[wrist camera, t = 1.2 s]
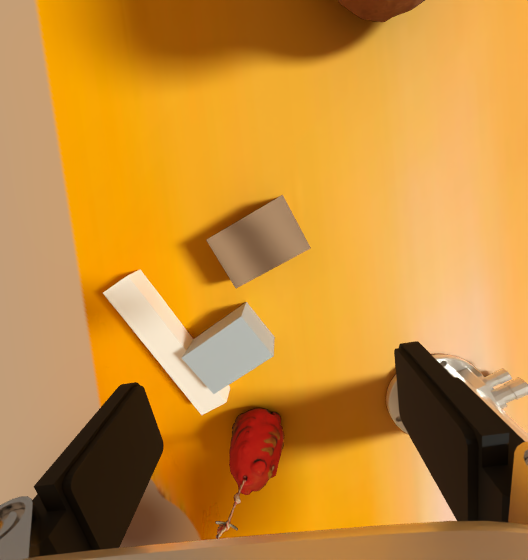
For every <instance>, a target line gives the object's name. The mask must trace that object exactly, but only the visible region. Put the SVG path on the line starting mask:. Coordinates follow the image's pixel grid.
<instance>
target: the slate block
mask: <svg viewBox="0 0 528 560" xmlns="http://www.w3.org/2000/svg"><path fill="white" fill-rule="evenodd" d="M273 356H274V336H273V334H272V333H271V332H270V331H269V329H268V328H267V327H266V326H265V324H264V323H263V322H262V321H261V319H260V318H259V317H258V316H257V314H256V313H255V312H254V311H253V309H252V308H251V307H250V306H249V304H248V303H247V302H245V303H244V304H243V305H241V306H240V307H238V308H237V309H236V310H234V311H233V312H231V313H230V314H228V315H227V316H226V317H224V318H223V319H221V320H220V321H219V322H217V323H216V324H214V325H213V326H211V327H210V328H209V329H207V330H206V331H204V332H203V333H202V334H200V335H199V336H197V337H196V338H194V339H193V341H192V342H191V344H190V346H189V347H188V349H187V350H186V352H185V353H184V355H183V356H182V359H183V360H184V362H185V363H186V364H187V365H188V366H189V367H190V368H191V369H192V371H193V372H194V373H195V374H196V375H197V376H198V377H199V378H200V379H201V381H202V382H203V383H204V384H205V385H206V386H207V387H208V388H209V390H210V391H211V392H212V393H213V394H215V393H217V392H218V391H220V390H221V389H223V388H224V387H226V386H228V385H229V384H231V383H232V382H234V381H235V380H237V379H238V378H240V377H242V376H243V375H245V374H246V373H248V372H249V371H251V370H252V369H254V368H256V367H257V366H259V365H260V364H262V363H263V362H265V361H267V360H268V359H270V358H271V357H273Z"/></svg>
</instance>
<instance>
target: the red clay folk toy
mask: <svg viewBox="0 0 528 560" xmlns="http://www.w3.org/2000/svg"><path fill="white" fill-rule="evenodd" d="M232 429H233V431H232V439H231V447H230V453H229V454H230V464H229V465H230V471H231V474H232V475H233V477H234V479H235V480H236V482H237V484H238V488H239V491H238V493H236V494H235V495H234V501H235V502H234V505H233V509H232V511H231V514H230V516H229V519H228V521H226V522H220V521H215V522H216V524H220V526H219V527H218V529H217V530H218V531H217V533H218V535H217V536H216V538H217V539H218V538H219V537H220V536H221V535H222V533H223V532H224V531H227V530H228V529H229V528H230V526H231V527H232V528H234V529H235V530H238V528H237V527H236V526H234V525H232V524H230V520H231V517H232V514H233V510H234V508H235V506H236V504H240V502H241V500H240V497H239V494H240V493H242V494H245V495H249V494H250V493H251V492H252V491H259V490H261V489H262V488H263V487H264V486H265V485H266V483H267V481H268V480H269V479H270V478H272V477H274V476H276V472H277V468H278V463H279V459H280V456H281V451H282V449H283V446H284V442H283V440H284V432H283V431H282V426H281V417H280V415H279V414H278V413H277V412H272V413H270V412H269V411H268V410H267V409H262V408H258V409H252V410H249V411H248V412H246V413H243V414H240V415H239V416H238V417H237V419H236V420H235V423H234V424H233V427H232ZM221 524H223V525H221Z"/></svg>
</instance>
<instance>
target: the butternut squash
mask: <svg viewBox="0 0 528 560" xmlns="http://www.w3.org/2000/svg"><path fill="white" fill-rule="evenodd" d="M423 1H425V0H338V2H339V3H340V4H341V5H343V6H344V7H345V8H347V9H348V10H349V11H351V12H352V13H354V14H355V15H357V16H358V17H359V18H361V19H365V20H371V21H376V22H385V21H387V20H388V19H390V18H392V17H394V16H396V15H399V14H402V13H405V12H407V11H410V10H412V9H413V8H415V7H416V6H418V5H419V4H421V3H422V2H423Z"/></svg>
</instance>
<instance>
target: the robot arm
mask: <svg viewBox="0 0 528 560" xmlns="http://www.w3.org/2000/svg"><path fill="white" fill-rule="evenodd" d="M394 354H395V366H396V375H395V376H394V378H393V379H392V381H391V382H390V384H389V387H388V389H387V395H386V405H387V408H388V412H389V414H390V416H391V418H392V420H393V421H394V422H395V424H396V425H397V426H398V427H399V428H400V429H401V430H402V431H404V432H405V433H407V434H409V436H410V438H411V439H412V441H413V443H414V445H415V446H416V448H417V450H418V452H419V454H420V455H421V457H422V459H423V461H424V463H425V464H426V466H427V468H428V470H429V471H430V473H431V475H432V477H433V479H434V480H435V482H436V484H437V486H438V487H439V489H440V491H441V493H442V495H443V496H444V498H445V500H446V502H447V503H448V505H449V507H450V509H451V511H452V512H453V514H454V516H455V518H456V520H457V521H444V522H427V523H411V524H394V525H379V526H366V527H354V528H341V529H329V530H317V531H304V532H292V533H280V534H268V535H256V536H245V537H233V538H222V539H210V540H199V541H189V542H176V543H166V544H156V545H145V546H135V547H123V548H119V547H120V544H121V542H122V540H123V538H124V536H125V533H126V531H127V529H128V527H129V525H130V522H131V520H132V518H133V516H134V514H135V511H136V509H137V507H138V505H139V503H140V500H141V498H142V496H143V494H144V492H145V489H146V487H147V485H148V483H149V481H150V478H151V476H152V474H153V472H154V470H155V467H156V465H157V463H158V461H159V459H160V457H161V454H162V452H163V440H162V437H161V434H160V431H159V429H158V426H157V423H156V420H155V417H154V415H153V412H152V409H151V406H150V403H149V401H148V398H147V395H146V392H145V389H144V387H143V386H140V385H139V384H138V383H136V382H135V383H128V384H122V385H120V386H119V387H118V388H117V389H116V390H115V392H114V393H113V394H112V395H111V396H110V397H109V399H108V400H107V401H106V402H105V403H104V404H103V406H102V407H101V408H100V409H99V410H98V412H97V413H96V414H95V415H94V416H93V417H92V419H91V420H90V421H89V422H88V423H87V424H86V426H85V427H84V428H83V429H82V430H81V431H80V433H79V434H78V435H77V436H76V437H75V439H74V440H73V441H72V442H71V443H70V445H69V446H68V447H67V448H66V449H65V450H64V452H63V453H62V454H61V455H60V456H59V457H58V459H57V460H56V461H55V462H54V463H53V464H52V466H51V467H50V468H49V469H48V470H47V471H46V473H45V474H44V475H43V476H42V477H41V479H40V480H39V481H38V482H37V483H36V485H35V486H34V488H35V490H36V492H37V493H38V494H37V495H36V497H35V498H34V499H33V500H32V499H31V498H29V497H28V496H27V497H18V498H15V499H12V500H10V501H8V502H6V503H4V504H2V505H0V560H528V433H527V432H526V431H525V430H524V429H523V428H522V427H521V426H520V425H518V424H517V423H516V422H515V421H514V420H513V419H512V418H511V417H510V416H509V415H508V414H507V413H506V412H505V411H503V410H502V409H504V408H506V407H507V405H506V403H507V402H510V401H512V400H514V399H519V398H522V397H524V396H526V395H528V384H527V383H526V382H525V381H524V380H522V379H521V378H516V379H514V380H512V381H509V380H511V379H512V378H511V376H510V374H509V373H508V372H507V371H506V370H505V369H503V368H502V369H500V370H498V371H496V372H494V373H492V374H491V375H488V376H486V377H484V376H483V375H482V373H481V372H480V371H479V370H478V369H477V368H476V367H475V366H473V365H472V364H471V363H469V362H468V361H466V360H464V359H462V358H459V357H457V356H452V355H444V354H436V355H431V354H430V353H429V352H428V351H427V350H426V349H425V348H424V347H423V346H422V345H421V344H420V343H419V342H409V343H402V344H400V345H399V348H398V349H395V351H394ZM506 381H509V382H507V383H505V384H504V385H503V386H501V387H499V388H496V389H493V386H496V385H498V384H502V383H504V382H506Z"/></svg>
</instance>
